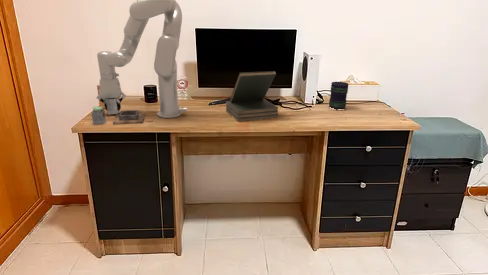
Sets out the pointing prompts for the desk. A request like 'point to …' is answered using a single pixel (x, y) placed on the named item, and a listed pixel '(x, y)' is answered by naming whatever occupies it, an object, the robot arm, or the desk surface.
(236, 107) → the tilted panel stand
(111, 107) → the block
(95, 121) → the button post
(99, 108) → the button
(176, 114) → the robot arm
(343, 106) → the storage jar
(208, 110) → the desk surface
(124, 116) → the square base with tray
